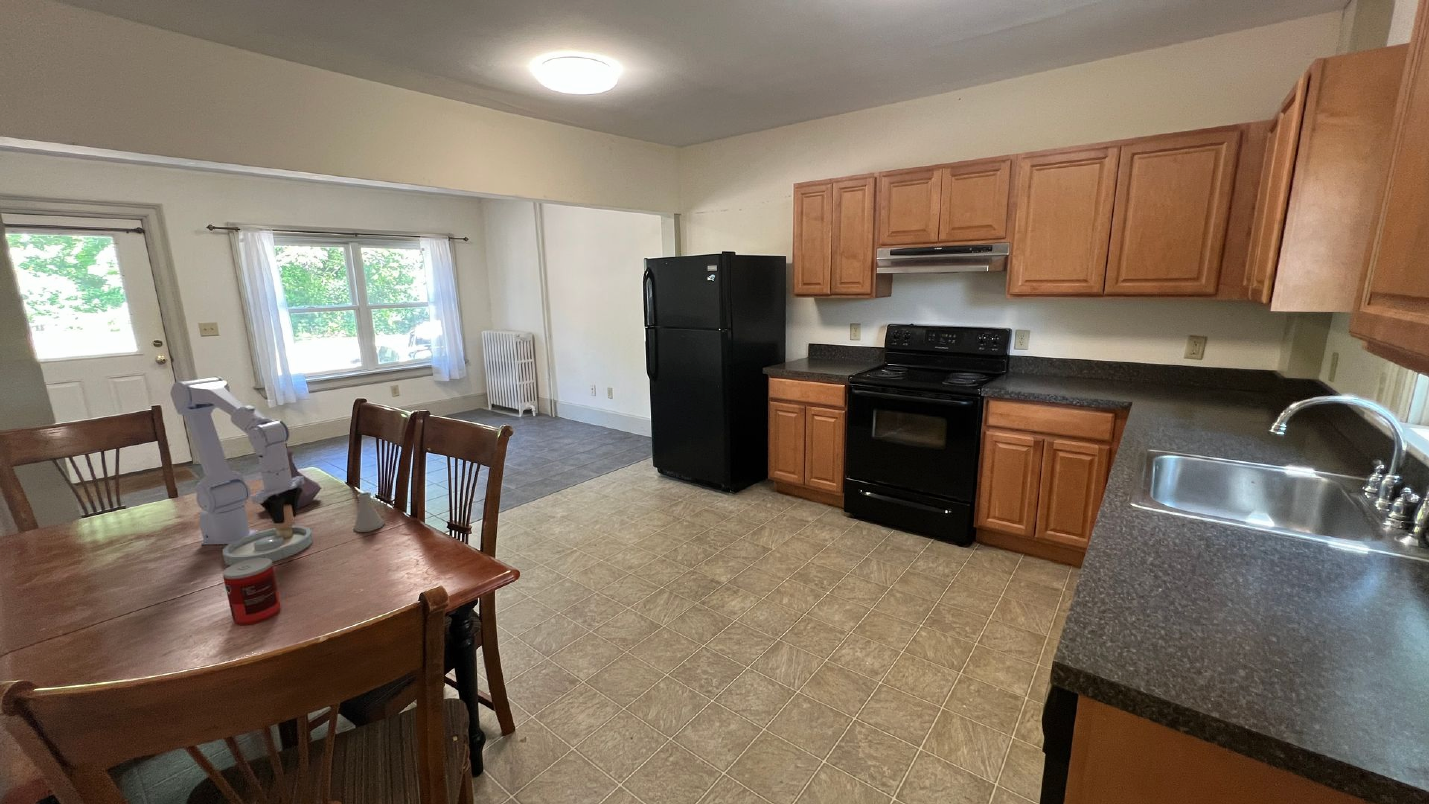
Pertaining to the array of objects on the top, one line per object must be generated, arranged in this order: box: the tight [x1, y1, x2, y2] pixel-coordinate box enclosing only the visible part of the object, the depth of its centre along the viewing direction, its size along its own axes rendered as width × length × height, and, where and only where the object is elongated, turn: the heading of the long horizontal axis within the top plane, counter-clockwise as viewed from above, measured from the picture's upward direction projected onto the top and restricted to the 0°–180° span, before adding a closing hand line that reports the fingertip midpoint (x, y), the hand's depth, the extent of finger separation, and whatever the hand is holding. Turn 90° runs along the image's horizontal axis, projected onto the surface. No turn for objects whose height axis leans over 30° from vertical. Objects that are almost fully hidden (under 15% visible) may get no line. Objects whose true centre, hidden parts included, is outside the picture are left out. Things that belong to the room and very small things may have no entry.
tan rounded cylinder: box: [274, 523, 293, 539], centre depth 150 cm, size 3×3×5 cm
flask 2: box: [353, 491, 386, 533], centre depth 156 cm, size 7×7×10 cm
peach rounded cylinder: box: [278, 504, 296, 528], centre depth 143 cm, size 3×3×5 cm
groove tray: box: [222, 525, 314, 567], centre depth 145 cm, size 18×18×2 cm
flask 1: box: [277, 442, 322, 509], centre depth 174 cm, size 16×16×20 cm
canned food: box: [222, 558, 282, 626], centre depth 114 cm, size 8×8×11 cm
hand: (285, 519), depth 143 cm, fingers closed on peach rounded cylinder, 3 cm apart
